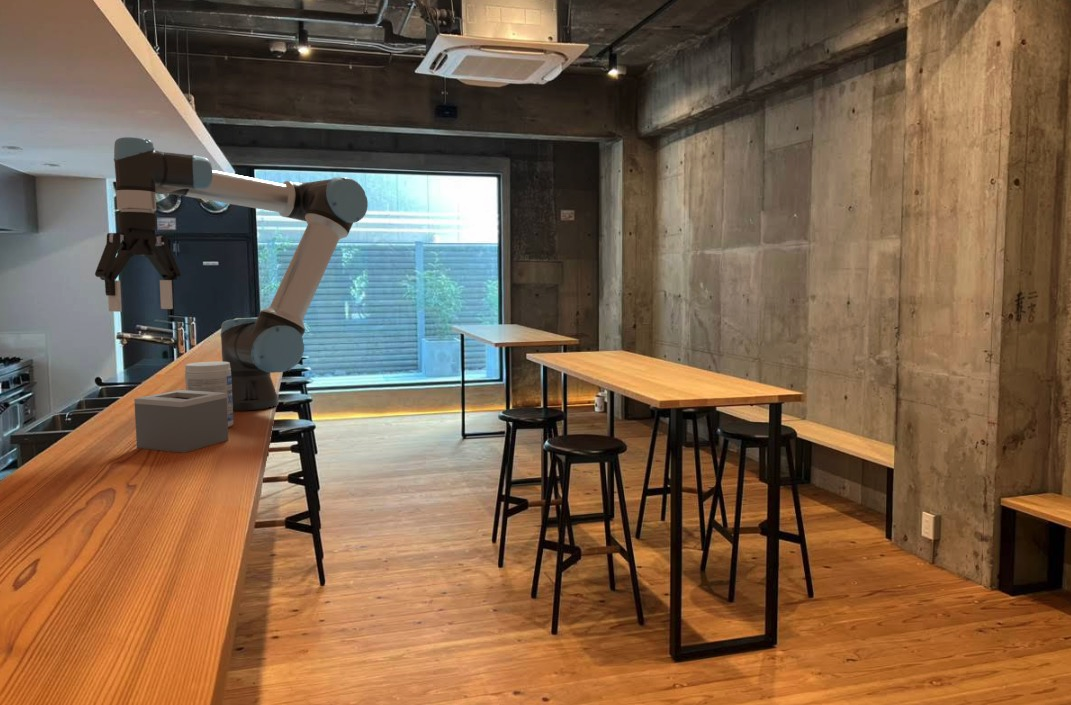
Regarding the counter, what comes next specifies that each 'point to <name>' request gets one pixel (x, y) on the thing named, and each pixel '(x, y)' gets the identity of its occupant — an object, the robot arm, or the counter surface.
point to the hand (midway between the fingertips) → (142, 310)
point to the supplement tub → (211, 380)
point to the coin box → (181, 420)
